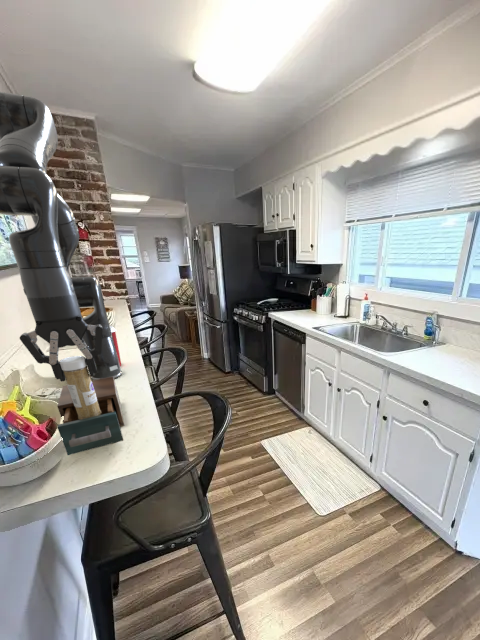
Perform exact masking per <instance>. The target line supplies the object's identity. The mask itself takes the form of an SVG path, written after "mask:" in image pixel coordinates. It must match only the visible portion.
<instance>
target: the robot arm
mask: <svg viewBox="0 0 480 640" xmlns="http://www.w3.org/2000/svg"><path fill="white" fill-rule="evenodd" d="M58 145H59V139H58V132H57V127H56V124H55V120H54V117H53V116H52V113H51V110H50V109H49V107H48V105H47V104H46V103H45V102H44V101H42V100H41V99H39V98H37V97H34V96H30V95H25V94H17V93H11V92H5V91H0V215H4V216H31V218H32V221H33V223H34V226H33V227H31V228H26V229H23V230H18V231H14V232H12V233H10V234H9V236H8V241H9V244H10V248H11V250H12V253H13V257H14V259H15V262H16V266H17V268H18V271H19V276H20V282H21V285H22V288H23V293H24V295H25V297H26V299H27V303H28V304H29V308H30V311H31V314H32V316H33V319H34V322H35V327H34V330H32V331H28V332H23V333H22V334H20V336H19V340H20V341H21V343H22V344H23V345H24V347H25V348H26V349H27V351H28V352H29V354H31V356H32V358H33V359H34V360H35V361H36V363H37V364H40V365H41V364H48V365H49V366H50V367H51V369H52V372H53V375H54V378H55V379H56V380H59V381H60V382H62V383H63V382H65V381H66V378H65V375H64V372H63V370H62V369H61V366H60V363H59V361H60V360H59V349H60V348H65V347H75V346H76V348H77V349H78V350H79V351H80V352H81V354H82V356H84V357H85V358H86V364H87V369H88V372H89V375H90V378H91V381H92V380H98V379H103V378H109V377H114V379H116V378H119V377H121V375H122V374H123V371H122V368H121V366H120V364H119V360H118V356H117V352H116V348H115V345H114V341H113V337H112V333H111V329H110V326H111V325H110V321H109V318H108V315H107V311H106V306H105V299H104V295H103V290H102V286H101V283H100V281H99V280H98V278H97V277H96V276H73V277H72V276H71V275H70V273H69V268H70V265H71V260H72V258H73V256H74V253H75V252H76V250H77V247H78V245H79V240H80V232H79V228H78V225H77V222H76V218H75V216H74V212H73V210H72V208H71V207H70V205H69V204H68V203H67V202H66V200H64V198H63V197H62V196H61V195H60V194H59V193H58V191H57V187H56V185H55V183H54V182H53V180H52V179H51V178H50V176H49V175H48V174H47V171H48V170H47V169H48V168H47V167H48V163H49V161H50V160H51V158H52V157H53V156H54V154H55V152H56V150H57V148H58ZM83 308H93V311H92V312H91V313H89V314H87V315H86V316H85V317H83V316H82V311H81V309H83ZM37 336H38V337H40V338H41V339H42V340H44V341H45V342H47V343H48V344H49V348H48V349H49V350H48V352H49V355H47V354H45V353H44V351H42V349H41V348H40V346H39V345H38V344H37V342H38V337H37Z"/></svg>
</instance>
